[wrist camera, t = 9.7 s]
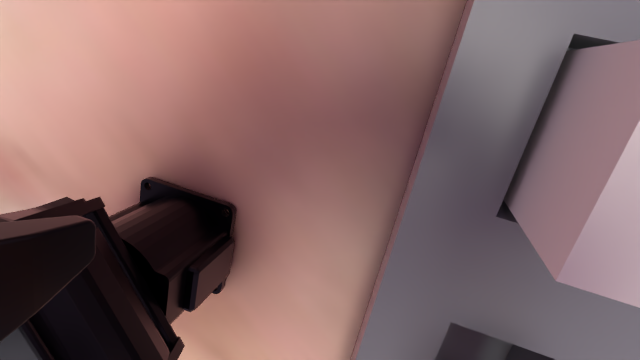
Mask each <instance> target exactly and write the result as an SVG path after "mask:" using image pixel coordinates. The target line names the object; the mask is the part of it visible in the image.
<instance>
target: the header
mask: <svg viewBox="0 0 640 360" xmlns="http://www.w3.org/2000/svg"><path fill="white" fill-rule="evenodd" d="M636 40H640V0H467V2H466V5H465V9H464V12H463V15H462V18H461V21H460V24H459V27H458V30H457V33H456V36H455V39H454V42H453V45H452V49H451V52H450V55H449V58H448V61H447V64H446V67H445V70H444V73H443V76H442V79H441V82H440V86H439V89H438V92H437V95H436V98H435V101H434V104H433V107H432V110H431V113H430V116H429V119H428V122H427V126H426V129H425V132H424V135H423V138H422V141H421V144H420V147H419V150H418V153H417V156H416V159H415V162H414V166H413V169H412V172H411V175H410V178H409V181H408V184H407V187H406V190H405V193H404V196H403V199H402V203H401V206H400V209H399V212H398V215H397V218H396V221H395V224H394V227H393V230H392V233H391V236H390V239H389V243H388V246H387V249H386V252H385V255H384V258H383V261H382V264H381V267H380V270H379V273H378V276H377V280H376V283H375V286H374V289H373V292H372V295H371V298H370V301H369V304H368V307H367V310H366V313H365V316H364V320H363V323H362V326H361V329H360V332H359V335H358V338H357V341H356V344H355V347H354V350H353V353H352V356H351V360H640V308H639V307H635V306H632V305H629V304H626V303H623V302H620V301H617V300H614V299H610V298H607V297H604V296H601V295H598V294H595V293H592V292H588V291H585V290H582V289H579V288H576V287H573V286H570V285H566V284H563V283H560V282H557V281H555V279H554V278H553V276H552V275H551V273H550V271H549V270H548V268H547V267H546V265H545V264H544V262H543V261H542V259H541V257H540V256H539V254H538V253H537V251H536V250H535V248H534V247H533V245H532V243H531V242H530V240H529V239H528V237H527V236H526V234H525V233H524V231H523V229H522V228H521V226H520V225H519V223H518V222H517V220H516V219H515V217H514V216H513V214H512V212H511V211H510V209H509V208H508V206H507V205H506V203H505V202H504V200H503V199H504V197H505V194H506V192H507V190H508V187H509V185H510V183H511V180H512V178H513V175H514V173H515V171H516V168H517V166H518V164H519V161H520V159H521V157H522V154H523V152H524V150H525V147H526V145H527V143H528V140H529V138H530V136H531V133H532V131H533V129H534V126H535V124H536V121H537V119H538V117H539V114H540V112H541V110H542V107H543V105H544V103H545V100H546V98H547V96H548V93H549V91H550V89H551V86H552V84H553V82H554V79H555V77H556V75H557V72H558V70H559V68H560V65H561V63H562V60H563V58H564V56H565V53H566V51H570V50H577V49H583V48H590V47H597V46H603V45H610V44H616V43H623V42H629V41H636Z"/></svg>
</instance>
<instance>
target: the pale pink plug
mask: <svg viewBox="0 0 640 360" xmlns="http://www.w3.org/2000/svg"><path fill="white" fill-rule="evenodd" d="M503 200H504V202H505V203H506V205H507V206H508V208H509V209H510V211H511V212H512V214H513V216H514V217H515V219H516V220H517V222H518V223H519V225H520V226H521V228H522V229H523V231H524V233H525V234H526V236H527V237H528V239H529V240H530V242H531V243H532V245H533V247H534V248H535V250H536V251H537V253H538V254H539V256H540V257H541V259H542V261H543V262H544V264H545V265H546V267H547V268H548V270H549V271H550V273H551V275H552V276H553V278H554V279H555V281H557V282H560V283H563V284H566V285H570V286H573V287H576V288H579V289H582V290H585V291H588V292H592V293H595V294H598V295H601V296H604V297H607V298H610V299H614V300H617V301H620V302H623V303H626V304H629V305H632V306H635V307H639V308H640V40H636V41H629V42H623V43H616V44H610V45H603V46H597V47H590V48H583V49H577V50H570V51H566V53H565V56H564V58H563V60H562V63H561V65H560V68H559V70H558V72H557V75H556V77H555V79H554V82H553V84H552V86H551V89H550V91H549V93H548V96H547V98H546V100H545V103H544V105H543V107H542V110H541V112H540V114H539V117H538V119H537V121H536V124H535V126H534V129H533V131H532V133H531V136H530V138H529V140H528V143H527V145H526V147H525V150H524V152H523V154H522V157H521V159H520V161H519V164H518V166H517V168H516V171H515V173H514V175H513V178H512V180H511V183H510V185H509V187H508V190H507V192H506V194H505V197H504V199H503Z"/></svg>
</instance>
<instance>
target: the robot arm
mask: <svg viewBox="0 0 640 360" xmlns="http://www.w3.org/2000/svg"><path fill="white" fill-rule="evenodd" d="M149 184H150V185H151V187H150V186H149ZM104 207H105V205H104V203H103V201H102V199H101V198H100V197H98V198H95V199H92V200H89V201H85V199H84V198H82V199H79V200H76V201H74V200H72V199H70V198H68V197H65V198H62V199H59V200H56V201H54V202H51V203H48V204H45V205H42V206H39V207H36V208H32V209H27V210H22V211H17V212H12V213H6V214H1V215H0V360H177V359H178V358H179V356H180V354H181V352H182V350H183V348H184V346H185V345H184V344H183V342H182V340H181V338H180V337H177V336H176V334H175V332H174V330H173V329H172V327H171V325H170V324H171V323H172V322H173V321H174V320H175V319H176V318H177V317H178V316H179V315H180V314H181V313H182V312H183V311H184V310H186V311H189V312H191V311H193V310H195V309H196V308H197V307H198V306H199V305H200V304H201V303H202V302H203V301H204V300H205V299H206V298H207V297H208V296H209V295H210V294H211V293H214V294H218V293H220V292H221V291H222V290H223V288H224V285H225V278H226V277H227V276H228V275H229V273H230V267H231V261H232V254H233V248H234V240H233V238H232V234H233V228H234V222H235V215H236V209H235V207H234V206H233V205H232V204H230V203H228V202H225V201H222V200H219V199H216V198H213V197H210V196H207V195H204V194H201V193H198V192H195V191H192V190H189V189H186V188H183V187H180V186H177V185H174V184H171V183H168V182H165V181H162V180H159V179H156V178H153V177H149V178H146V179H144V180H142V182H141V191H140V203H138V204H136V205H133V206H131V207H129V208H127V209H125V210H123V211H120V212H118V213H116V214H114V215H112V216H110V217H109V216H108V215H107V213H106V211H105V209H104ZM225 209H227V210H228V211H229V214H227V213H226V212H225Z"/></svg>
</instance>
